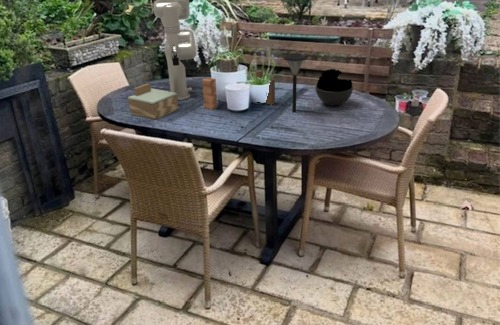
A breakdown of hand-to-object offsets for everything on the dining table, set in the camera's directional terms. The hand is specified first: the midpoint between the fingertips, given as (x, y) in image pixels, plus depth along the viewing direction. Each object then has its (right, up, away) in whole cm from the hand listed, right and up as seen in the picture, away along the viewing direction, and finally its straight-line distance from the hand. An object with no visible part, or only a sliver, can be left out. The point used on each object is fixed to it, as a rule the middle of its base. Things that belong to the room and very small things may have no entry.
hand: (175, 63), depth 236 cm
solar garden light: (+63, -26, 0) cm, 68 cm away
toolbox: (-12, -25, +6) cm, 29 cm away
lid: (-13, -18, +2) cm, 22 cm away
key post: (+18, -22, +9) cm, 30 cm away
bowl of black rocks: (+85, -21, +9) cm, 88 cm away
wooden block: (+48, -20, +14) cm, 53 cm away
